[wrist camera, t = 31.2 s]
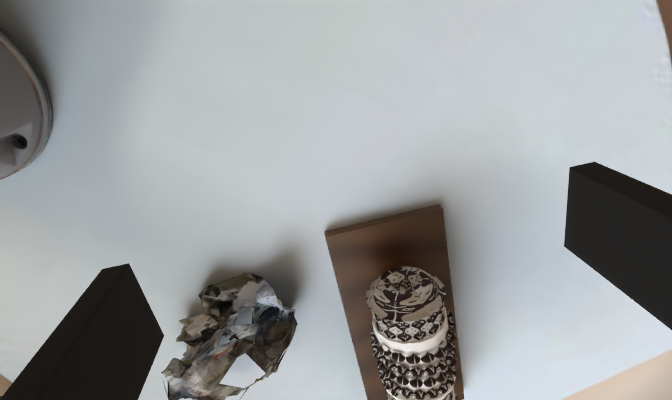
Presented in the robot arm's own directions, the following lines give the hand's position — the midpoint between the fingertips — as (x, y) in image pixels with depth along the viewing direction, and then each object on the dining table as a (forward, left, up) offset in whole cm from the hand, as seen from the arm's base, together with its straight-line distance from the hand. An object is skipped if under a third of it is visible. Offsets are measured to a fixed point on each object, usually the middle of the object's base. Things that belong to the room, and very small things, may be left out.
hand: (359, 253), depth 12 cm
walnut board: (+4, -29, -28) cm, 40 cm away
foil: (-15, -22, -28) cm, 39 cm away
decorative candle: (+4, -43, -22) cm, 49 cm away
